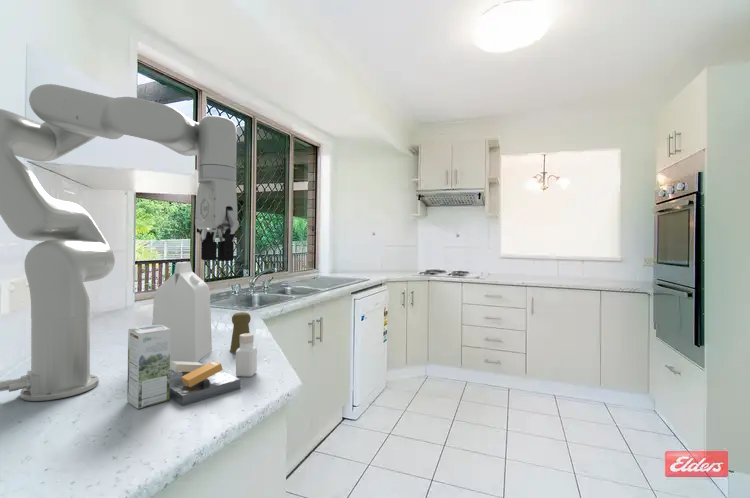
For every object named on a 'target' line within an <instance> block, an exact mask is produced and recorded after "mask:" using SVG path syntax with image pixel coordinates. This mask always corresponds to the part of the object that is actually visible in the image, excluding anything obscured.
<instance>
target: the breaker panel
mask: <svg viewBox="0 0 750 498" xmlns="http://www.w3.org/2000/svg"><path fill="white" fill-rule="evenodd" d="M188 373H190V372H176V373H170V392H169V399H172V400H173V401H174V402H176V403H178V404H179V405H180V406H182V407H184V406H187V405H190V404H193V403H197V402H201V401H203V400H206V399H210V398H213V397H216V396H220V395H224V394H226V393H230V392H232V391H236V390H239V389H241V388H242V386H241V378H239V377H238V376H236V375H232V374H231V373H228V372H226V371H224V370H222V371H220V372H218V373H216V374H214V375H212V376H210V377H208V378H207V379H205V380H203V381H201V382H199V383H197V384H195V385H193V386H192V387H189V386H187V385H185V384H183V381H182V378H181V377H182V376H184V375H186V374H188Z"/></svg>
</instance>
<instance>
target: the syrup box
mask: <svg viewBox="0 0 750 498" xmlns="http://www.w3.org/2000/svg"><path fill="white" fill-rule="evenodd" d="M127 334H128V335H127V386H126V387H127V389H126V391H127V394H126V395H127V396H126V398H127V400H126V401H127V402H128V403H129V404H130V405H131V406H133V407H135V408H136V409H137V410H140V409H143V408H144V409H145V408H147V407H151V406H154V405H158V404H161V403H164V402H168V401H170V397H169V392H170V375H171V369H170V342H171V330H170V329H169V328H167V327H165V326H163V325H154V326H152V325H149V326H140V327H134V328H129V329H128V331H127Z"/></svg>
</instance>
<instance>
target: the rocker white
mask: <svg viewBox="0 0 750 498" xmlns="http://www.w3.org/2000/svg"><path fill="white" fill-rule="evenodd" d="M206 364H207V363H204V362H200V361H198V362H181V361H171V362H170V371H173V372H176V373H179V372H192V371H194V370H196V369H198V368H200V367H202V366H204V365H206Z"/></svg>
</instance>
